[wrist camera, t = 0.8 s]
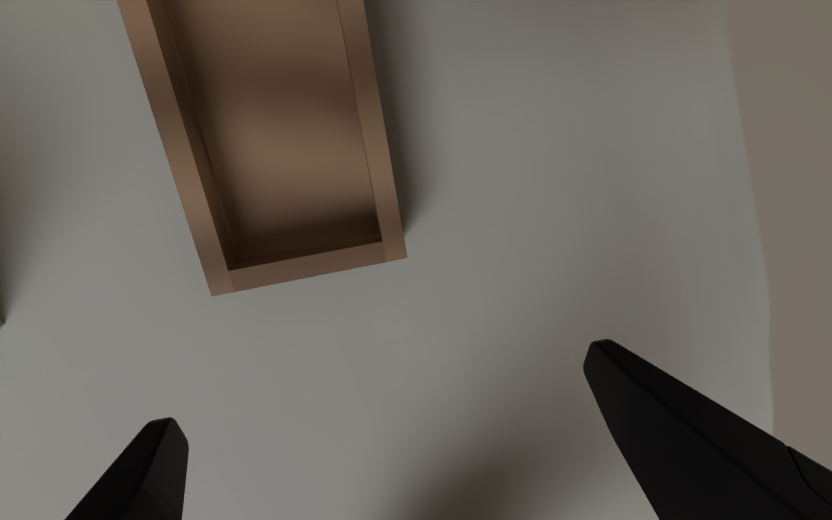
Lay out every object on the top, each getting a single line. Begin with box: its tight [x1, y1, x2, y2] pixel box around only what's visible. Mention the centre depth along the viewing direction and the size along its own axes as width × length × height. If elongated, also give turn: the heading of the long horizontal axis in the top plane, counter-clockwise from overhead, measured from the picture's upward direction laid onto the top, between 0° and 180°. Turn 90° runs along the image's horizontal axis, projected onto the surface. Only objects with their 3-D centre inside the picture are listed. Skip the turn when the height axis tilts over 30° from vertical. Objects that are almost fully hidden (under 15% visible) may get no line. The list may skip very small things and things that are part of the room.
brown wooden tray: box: [117, 0, 407, 296], centre depth 18 cm, size 16×9×3 cm, turn 9°
